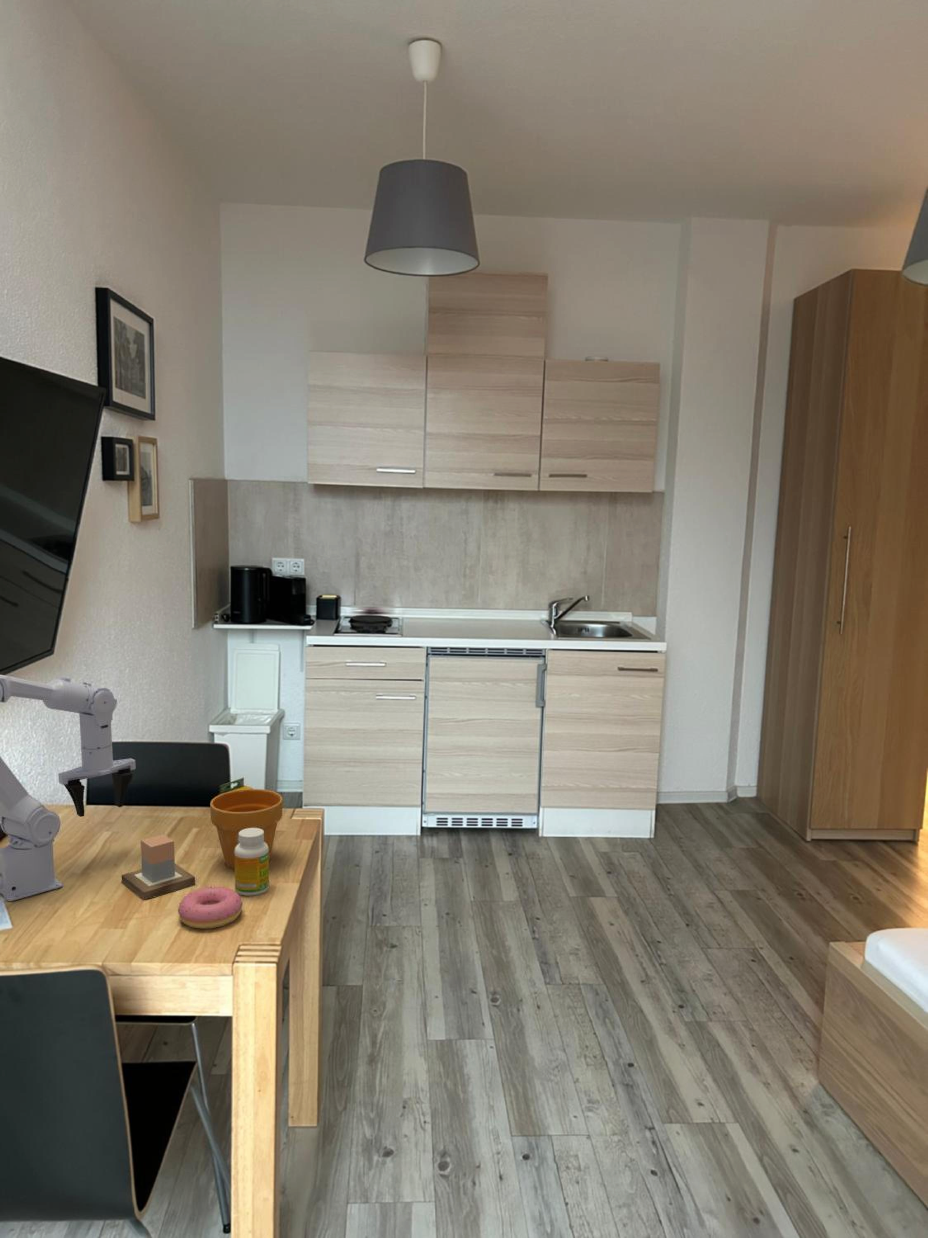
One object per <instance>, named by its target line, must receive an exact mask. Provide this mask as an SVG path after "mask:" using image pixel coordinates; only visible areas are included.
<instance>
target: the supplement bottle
mask: <svg viewBox="0 0 928 1238" xmlns="http://www.w3.org/2000/svg"><path fill="white" fill-rule="evenodd" d="M238 840H239V844H238V845H237V846H236V847H235V852H234V858H235V869H234V891H235V892H237V893H238V894H239V896H246V897H249V896H252V897H253V896H258V895H261V894H264V893H265V892H267V891H268V889H269V887H270V862H269V861H270V860H269V848H268V845H267V844H266V843H265V842H263V841H264V831H263V830H262V829H259V828H247V829H243V830H241V831H240V832H239V838H238Z"/></svg>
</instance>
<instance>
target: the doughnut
mask: <svg viewBox="0 0 928 1238" xmlns="http://www.w3.org/2000/svg"><path fill="white" fill-rule="evenodd" d="M242 907H243V899H242V896H241V895H240V894H238V893H237V892H236V890H235V889H231V888H229V887H225V886H216V885H214V886H205V887H202V888H198V889H195V890H194V891H191V892H189V893H188V894H186V895H185V896H184V897H182V899H181V901H180V902H179V905H178V908H177V913H178V915H179V916H178V917H179V919H180V921H182V923H184V924H185V925H186V926H188V927H191V928H194V929H199V930H200V929H201V930H205V929H206V930H208V929H209V930H210V929H216V927H217V928H220V927H223V926H226V925H228V924H230V923H232V922H234V921H235V920H236V919H237V918H238V917H239V915H240V914H241V911H242Z"/></svg>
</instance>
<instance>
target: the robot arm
mask: <svg viewBox="0 0 928 1238" xmlns="http://www.w3.org/2000/svg"><path fill="white" fill-rule="evenodd" d="M11 697H13V698H14V697H16V698H24V699H30V700H38V701H42V702H43V704H44V706H45V707H46V708H47V709H49V710H56V711H61V712H62V711H63V712H69V713H75V714H76V713H77V714H78V715H79V717H78V718H79V729H80V730H79V734H80V751H81V766H79V767H75V768H72V769H69V770H66V771H61V772H59V773H58V783H59V784H60V785H62V786H64V787H65V789H66V790H67V792H68V794H69V795H70V797H71V799H72V802H73V805H74V807H75V812H76V815H77V816H79V817H81V818H82V817H85V804H84V803H85V802H84V801H85V800H84V796H85V787H86V786H84V784H82V781H81V780H87V779H91V778H92V779H93V778H96V777H101V776H106V775H109V774H111V776H112V777H111V778H112V781H113V789H114V793H113V794H114V795H113V796H114V804H115V806H116V807H118V808H123V805H124V799H125V796H126V792H127V790H128V787H129V784H130V783H131V781H132V779H133V776H134V773H133V771H134V770H136V767H137V766H136V759H133V758H125V759H117V760H116V759H115V760H114V757H113V756H114V754H113V739H112V738H113V737H112V734H113V733H112V721H113V720H114V719H113V714H114V711H115V710H116V708H117V703H118V699H117V698H115V696H114V694H113V692H112V691H111V690H110V689H108V688H106V687H102V686H96V685H92V683H91V682H87V681H83V682H82V683H80V682H74V681H72V678H70V677H65V676H60V678H54V679H52V680H50V681H48V682H47V683H42V682H37V681H33V680H29V679H23V678H21V677H20V678H19V677H14V676H10V675H6V674H5V675H4V674H0V703H7V702H8V701H9V699H10V698H11ZM61 823H62V822H61V819H60V816H59V815H58V813H56V812H55V811H53V810H50V809H48V808H46V807H45V805H44V804H43V803H42V802H41V801H39V800H38V799H36V798H35V797H33V796H32V795H31V794H29V792H28V791H27V790H26V788H25V787H24V786H23V784H22V783H21V782H20V780H19V779H18V778H17V776H16V775H15V774H14V773H13V771H12V770H11V769H10V767H9V766H8V765H7V763H6V762H5V761H4V759H3V758H2V757H1V756H0V828H1V830H2V831H3V833H5V834H6V835H8V836H7V837H8V842H9V843H8V845H6V846H3V847H2V848H0V894H1V895H2V896H3V897H4V898H5V899H6V901H8V902H13V901H17V900H19V899H23V898H27V897H30V896H31V897H32V896H35V895H38V894H41V893H46V892H49V891H53V890H56V889H59V888H62V887H63V883H62V882H61V881H59V879H57V877H55V863H54V861H55V858H54V842H55V838H56V837H57V835H58V834H59V832H60V830H61Z"/></svg>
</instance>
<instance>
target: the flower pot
mask: <svg viewBox="0 0 928 1238" xmlns="http://www.w3.org/2000/svg"><path fill="white" fill-rule="evenodd" d="M209 805H210V807H209V809H210V821H211V823H212V824H213V825H214V826H215V829H216V831H217V835H218V840H219V845H220V847H221V851H222V855H223V859H224V862H225V865H226V866H227V867H229V868H231V869H234V870H235V858H234V852H235V847H236V846H237V845H238V844H239V840H238V838H239V832H240V831H241V830H243V829H247V828H259V829H262V830H263V831H264V841H263V842H265V843H266V844H267V845H268V848H269V861H270V860H271V855H272V850H273V846H274V840H275V837H276V836H275V835H276V831H277V826H278V822H279V821H280V820H281V819H282V817H283V808H284V807H283V796H282V795H281V794H279V793H278V792H275V791H273V790H268V789H262V788H253V789H243V790H235V791H230V792H226V793H223V794H220V793H219V794H218V795H217V796H215V797H214V798H212V799H211V800H210V804H209Z"/></svg>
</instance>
